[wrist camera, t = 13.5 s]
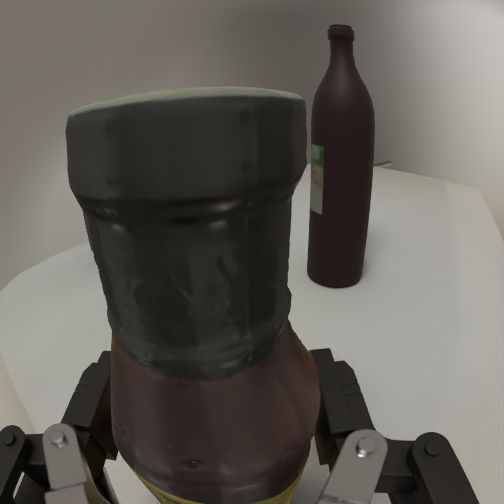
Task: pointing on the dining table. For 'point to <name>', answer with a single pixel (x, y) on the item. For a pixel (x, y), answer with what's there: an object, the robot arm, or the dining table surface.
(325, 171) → the wine bottle
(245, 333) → the sauce bottle
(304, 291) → the dining table surface
